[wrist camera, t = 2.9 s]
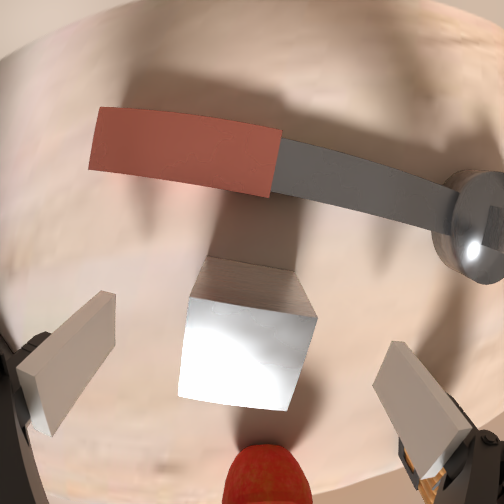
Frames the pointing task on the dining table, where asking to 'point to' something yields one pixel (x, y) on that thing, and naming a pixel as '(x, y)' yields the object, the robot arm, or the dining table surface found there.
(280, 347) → the brushed steel cube
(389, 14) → the dining table surface
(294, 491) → the apple
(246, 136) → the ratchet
